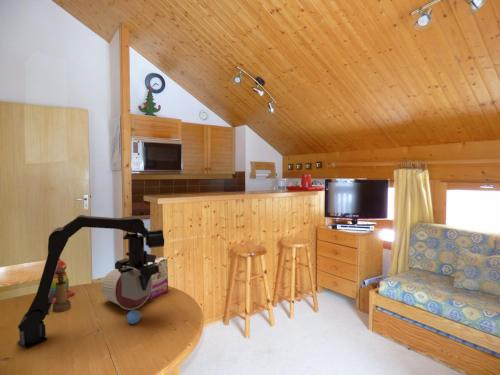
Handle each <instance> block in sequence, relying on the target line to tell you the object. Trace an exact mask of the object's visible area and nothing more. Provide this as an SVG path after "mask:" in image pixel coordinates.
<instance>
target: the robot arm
mask: <svg viewBox="0 0 500 375" xmlns="http://www.w3.org/2000/svg"><path fill="white" fill-rule="evenodd" d="M82 228H95V229H110V230H113V229H114V230H120V231H123V232H125V234H124V235H123V236H122V239H123V240H124V241H125V240H127V242H128V243H127V246H128V249H127V250H128V251H126V252H125V255H126V256H127V257H128V258H127V257H126V258H122V259H120V260H117V261H115V263H114V270H116V269H118V271H119V272H120V273H121V274H122V273H125V272H128V271H131V270H134V269H137V270H140V273H141V275H139V278H140V282H141V286H142V289H143V291H145V290H146V288H147V285H148V282H149V280H150V277H151V276H152V275H154V274H156V273H159V266H157V265H154V264H149V265H147V266H144V264H148V262H152V263H155V260H156V259H157V255H155V254H151V253H148V251H147V250H145V246H146V247H148V248H149V249H153V248H161V247H164V246H165V238H164V231H163V229H156V230H148V228H147V227H145V223H144V220H143V219H142V218H141V217H139V216H137V215H133V216H124V217H108V216H107V217H106V216H103V217H102V216H96V215H95V216H94V215H93V216H91V215H84V214H79V215H77V216H76V217H75V218H74V219H72V220H71V221H69V222H68V223H67V224H65V225H64V226H63V227H60V226H59V227H57V228H55V229H53V230H52V232H50V234H49V236H48V242H47V256H46V257H47V258H46V261H45V265H44V267H43V271H42V274H41V278H40V280H39V283H38V288H37V290H36V295H35V296H34V298H33V300H32V302H31V304H30V306H29V308H28V310H27V312H25V314H24V315H23V316H22V318H21V320H20V322H19V324H18V326H17V328H18V329H19V330H18V332H19V341H17V342H16V343H17V344H18V345H19V346H21V347H23V348H25V349H29V348H32V347H34V346H36V345H38V344H40V343H42V342H43V343H44V342H45V341H47V340H48V337H46V336H47V334H46V333H47V332H46V324H45V323H44V320H45V318H46V317H47V316H49V315H50V312H51V309H52V308H53V303H52V301H53V299H54V297H50V290H51V286H52V283H53V279H54V276H55V272H56V269H57V266H58V262H59V259H60V260H61V255H62V253H63V251H64V250H65V247H66V245H67V243H68V241H69V239H70V238H71V237H72V236H74V235H75V234H76V233H77V232H79V230H81V229H82Z"/></svg>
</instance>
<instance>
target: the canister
mask: <svg viewBox="0 0 500 375" xmlns="http://www.w3.org/2000/svg"><path fill="white" fill-rule="evenodd" d="M151 290H152V277H151ZM101 293H102V295H103V297H104V298H106V300H107V301H110V302H111V303H114V304H116V305H118V306H119V307H120V308H122V310H127V311H132V310H137V309H139V308H140V307H142V306H143V305H144V304H145V303H146V302H147V301H148V300H149V299H148V298H149V296H150V294H148V295H146V296H144V297H142V298H140V299H138V300H133V299H129V298H126V297H123V296H122V282H121V273H120V272H119V271H118V269H113V270H111V271H110V272H108V273H107V274H106V275H105V276H104V278H103V279H102V281H101Z"/></svg>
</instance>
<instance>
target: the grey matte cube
mask: <svg viewBox="0 0 500 375" xmlns="http://www.w3.org/2000/svg"><path fill="white" fill-rule="evenodd" d="M139 275H141V273H140V270H137V269H134V270H131V271H128V272H125V273H122V274H121V282H122V296H123V297H126V298H129V299H133V300H138V299H140V298H142V297H144V296H146V295H148V294H151V277H150V280H149V282H148V285H147V288H146V290H145V291H143V289H142V286H141V282H140V278H139Z"/></svg>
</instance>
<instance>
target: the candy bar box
mask: <svg viewBox="0 0 500 375" xmlns="http://www.w3.org/2000/svg"><path fill="white" fill-rule="evenodd" d="M149 264H154V265H157V266H159V273H156V274H154V275H152V276H151V277H152V290H151V294H150V296H149V298H148V299H147V300H153V299H155V298H157V297H159V296H162V295H163V294H165V293H168V292H169V279H168V277H169V276H168V275H169V272H168V271H169V270H168V268H169V266H168V258H167V257H162V256H161V257H160V256H159V257H156V260H155V263H152V262H148V264H144V266H147V265H149Z"/></svg>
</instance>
